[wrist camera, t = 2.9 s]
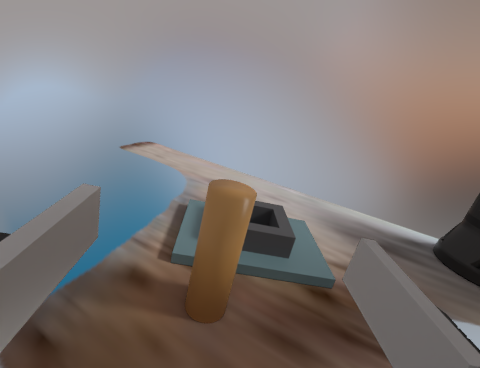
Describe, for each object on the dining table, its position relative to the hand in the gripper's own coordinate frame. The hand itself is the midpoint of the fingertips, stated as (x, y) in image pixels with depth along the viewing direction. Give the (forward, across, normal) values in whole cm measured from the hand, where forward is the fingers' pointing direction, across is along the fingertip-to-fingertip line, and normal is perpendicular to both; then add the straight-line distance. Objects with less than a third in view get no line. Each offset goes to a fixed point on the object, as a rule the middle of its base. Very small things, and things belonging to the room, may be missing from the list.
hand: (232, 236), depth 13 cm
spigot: (+11, +1, -16) cm, 19 cm away
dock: (+25, +7, -16) cm, 30 cm away
